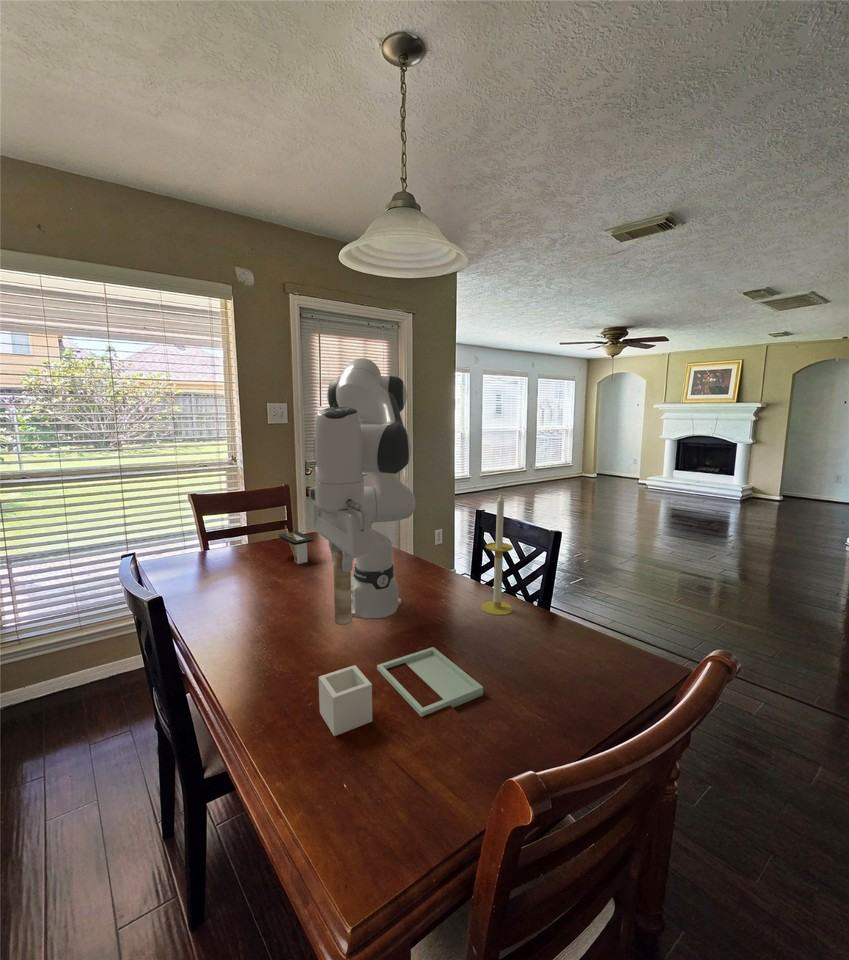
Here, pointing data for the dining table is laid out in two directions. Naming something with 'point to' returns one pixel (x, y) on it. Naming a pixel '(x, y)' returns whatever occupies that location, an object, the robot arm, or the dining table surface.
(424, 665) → the tray
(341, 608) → the dowel
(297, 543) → the architectural model
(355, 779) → the dining table surface
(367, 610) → the robot arm
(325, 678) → the cup
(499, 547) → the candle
